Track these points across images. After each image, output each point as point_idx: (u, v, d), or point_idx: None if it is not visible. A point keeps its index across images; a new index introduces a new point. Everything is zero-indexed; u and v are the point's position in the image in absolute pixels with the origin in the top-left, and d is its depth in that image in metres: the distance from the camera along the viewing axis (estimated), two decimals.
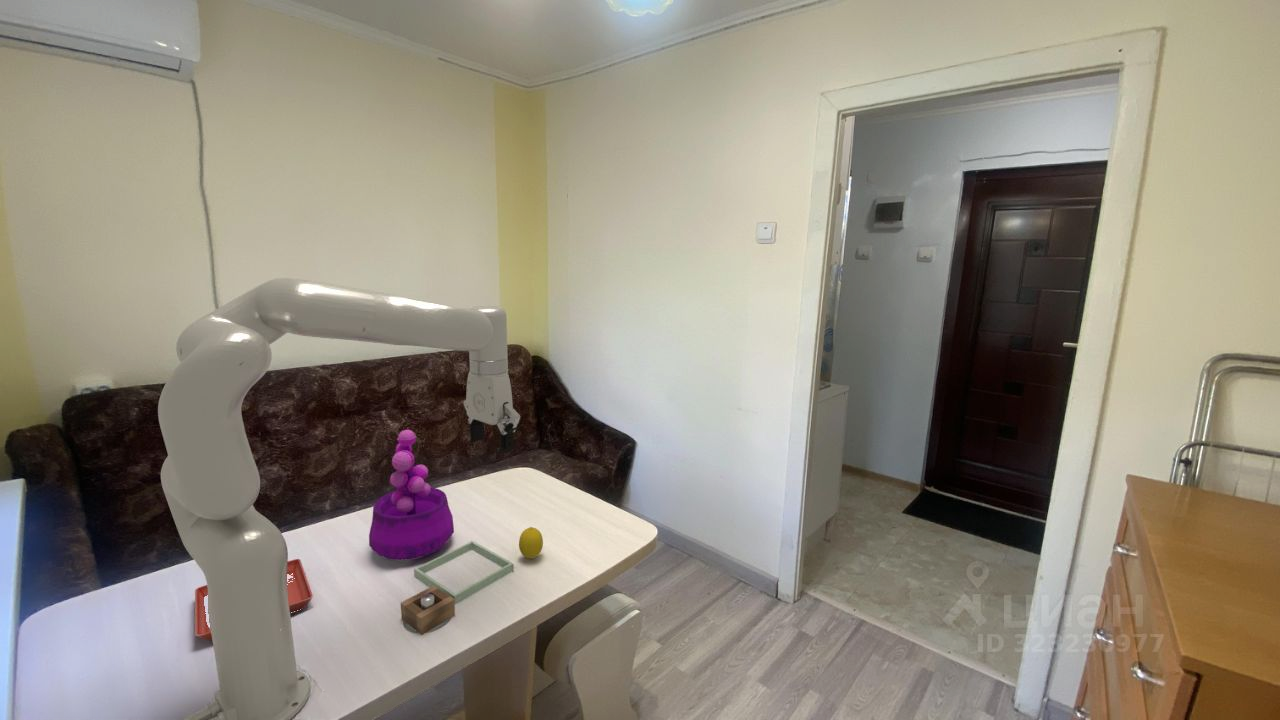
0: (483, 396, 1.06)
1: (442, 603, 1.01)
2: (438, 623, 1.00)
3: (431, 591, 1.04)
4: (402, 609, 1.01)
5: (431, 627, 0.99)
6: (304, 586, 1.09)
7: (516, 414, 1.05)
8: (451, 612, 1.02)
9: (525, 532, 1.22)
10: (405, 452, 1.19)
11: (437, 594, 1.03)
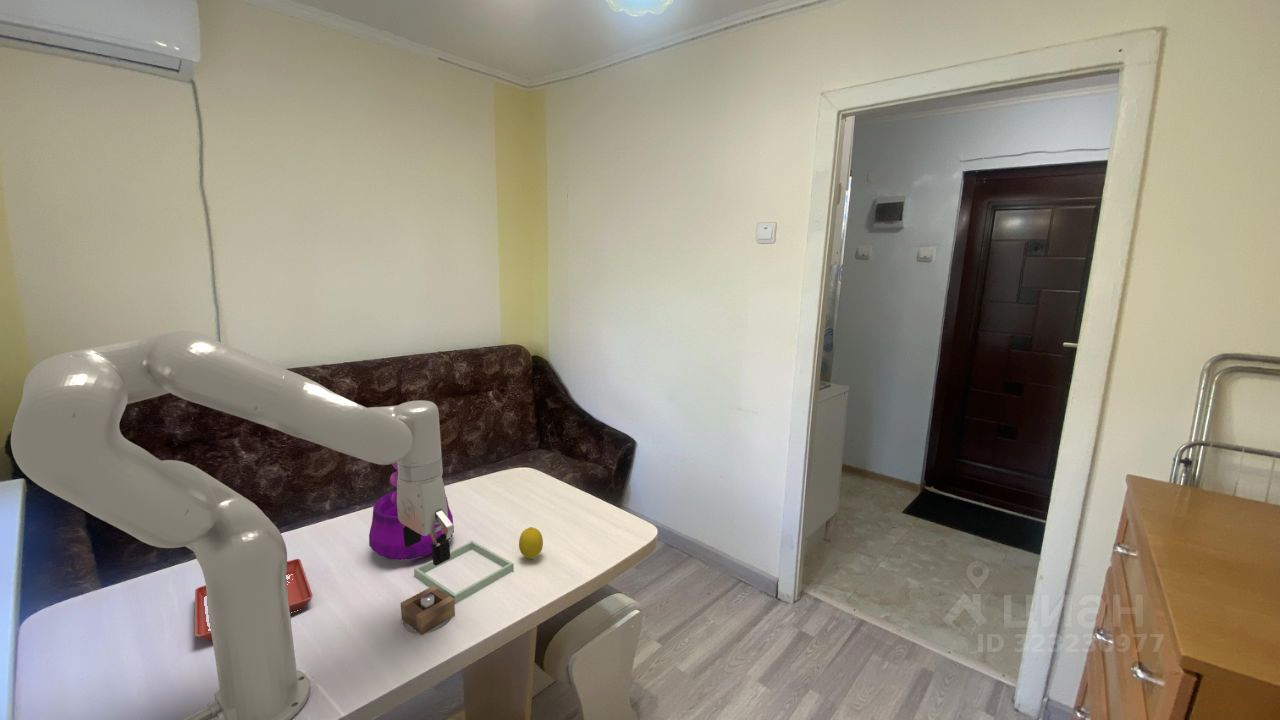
0: (413, 503, 0.94)
1: (442, 603, 1.01)
2: (438, 623, 1.00)
3: (431, 591, 1.04)
4: (402, 609, 1.01)
5: (431, 627, 0.99)
6: (304, 586, 1.09)
7: (449, 525, 0.93)
8: (451, 612, 1.02)
9: (525, 532, 1.22)
10: None
11: (437, 594, 1.03)
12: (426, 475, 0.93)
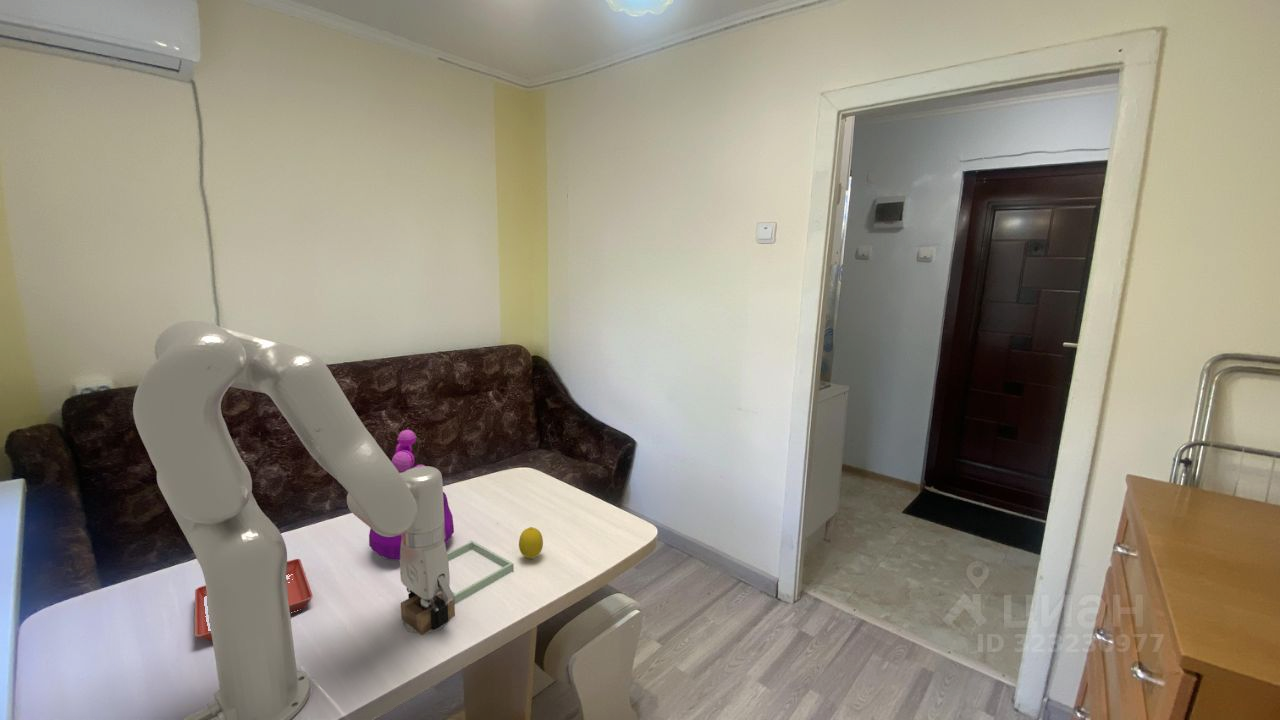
0: (416, 568, 0.97)
1: None
2: None
3: None
4: (402, 609, 1.01)
5: (431, 627, 0.99)
6: (304, 586, 1.09)
7: (450, 594, 0.96)
8: (451, 612, 1.02)
9: (525, 532, 1.22)
10: (405, 452, 1.19)
11: None
12: (429, 541, 0.96)
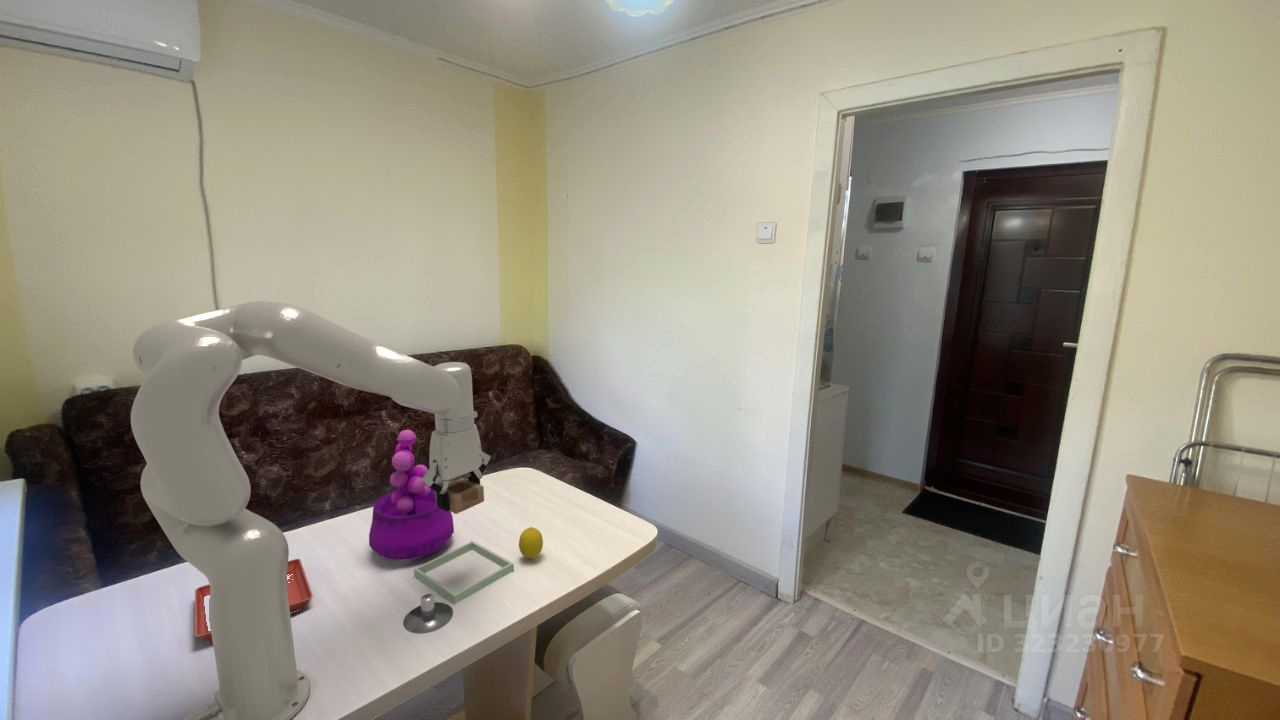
0: None
1: (451, 494, 1.08)
2: None
3: (473, 486, 1.12)
4: None
5: None
6: (304, 586, 1.09)
7: (424, 478, 1.04)
8: (453, 508, 1.07)
9: (525, 532, 1.22)
10: (405, 452, 1.19)
11: (467, 489, 1.10)
12: (436, 426, 1.06)
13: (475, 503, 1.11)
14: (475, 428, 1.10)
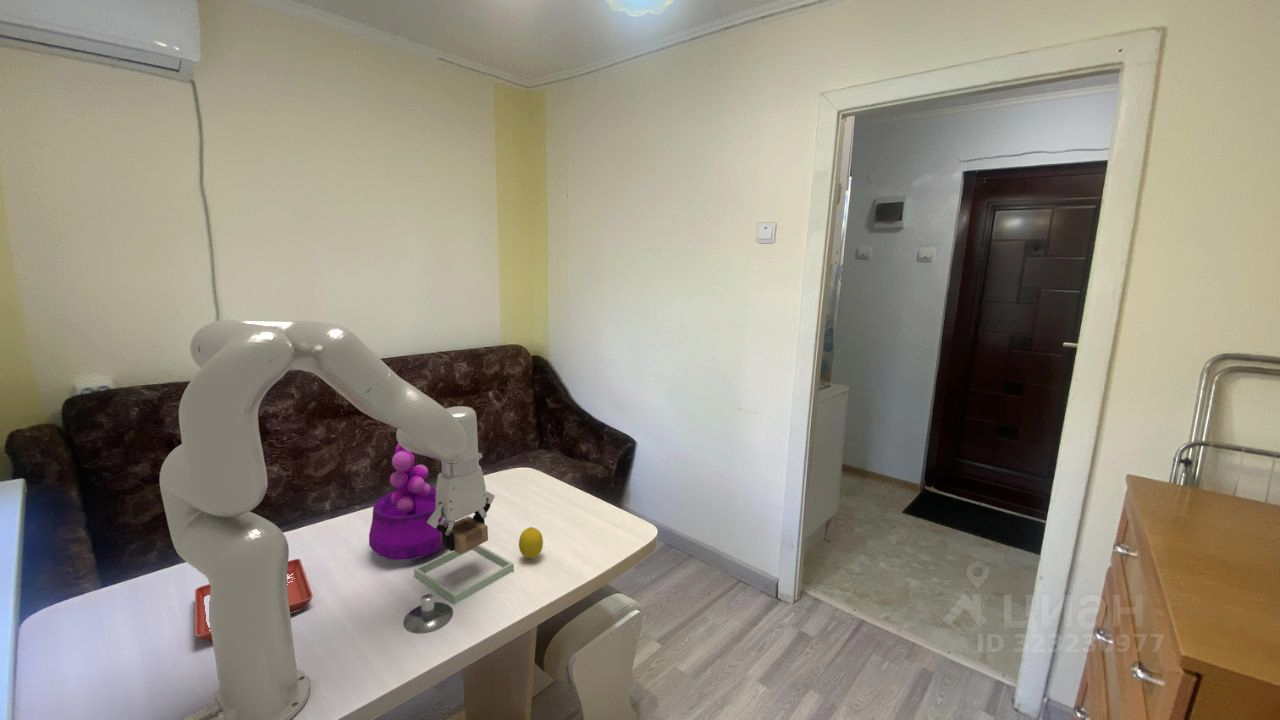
0: None
1: (456, 534, 1.11)
2: None
3: (478, 526, 1.15)
4: None
5: None
6: (304, 586, 1.09)
7: (430, 520, 1.08)
8: (458, 548, 1.11)
9: (525, 532, 1.22)
10: (405, 452, 1.19)
11: (471, 529, 1.13)
12: (442, 469, 1.09)
13: (479, 542, 1.14)
14: (480, 470, 1.13)
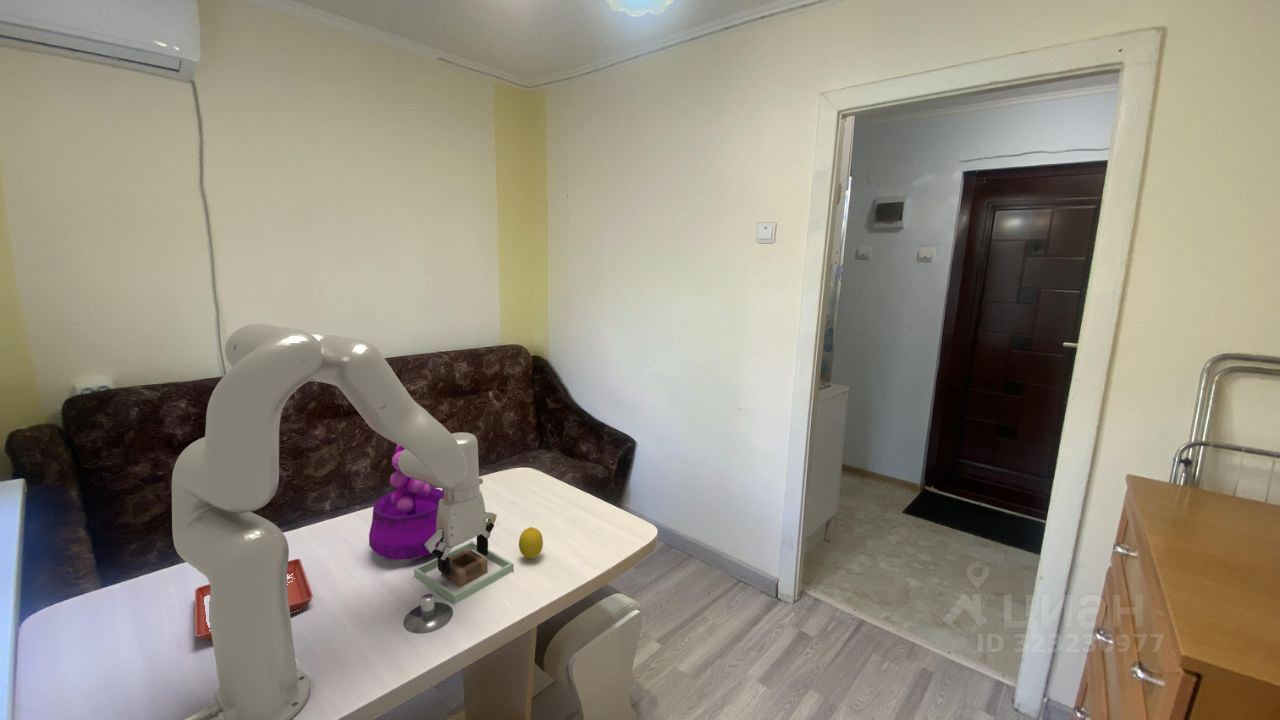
0: None
1: (456, 568, 1.13)
2: (450, 580, 1.14)
3: (478, 559, 1.16)
4: None
5: (446, 578, 1.14)
6: (304, 586, 1.09)
7: (428, 542, 1.08)
8: (458, 582, 1.12)
9: (525, 532, 1.22)
10: None
11: (471, 563, 1.15)
12: (443, 495, 1.10)
13: (479, 576, 1.15)
14: (480, 495, 1.15)
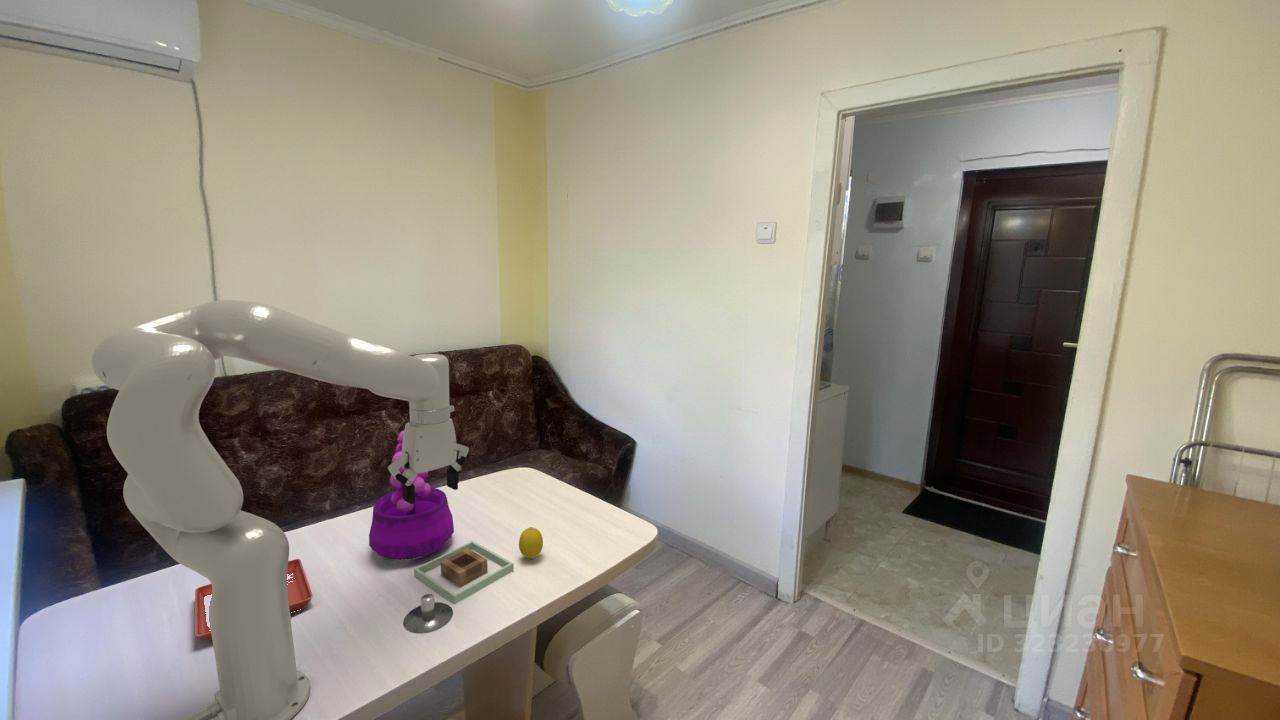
0: None
1: (456, 568, 1.13)
2: (450, 580, 1.14)
3: (478, 559, 1.16)
4: None
5: (446, 578, 1.14)
6: (304, 586, 1.09)
7: (391, 465, 1.02)
8: (458, 582, 1.12)
9: (525, 532, 1.22)
10: None
11: (471, 563, 1.15)
12: (410, 417, 1.05)
13: (479, 576, 1.15)
14: (450, 422, 1.08)
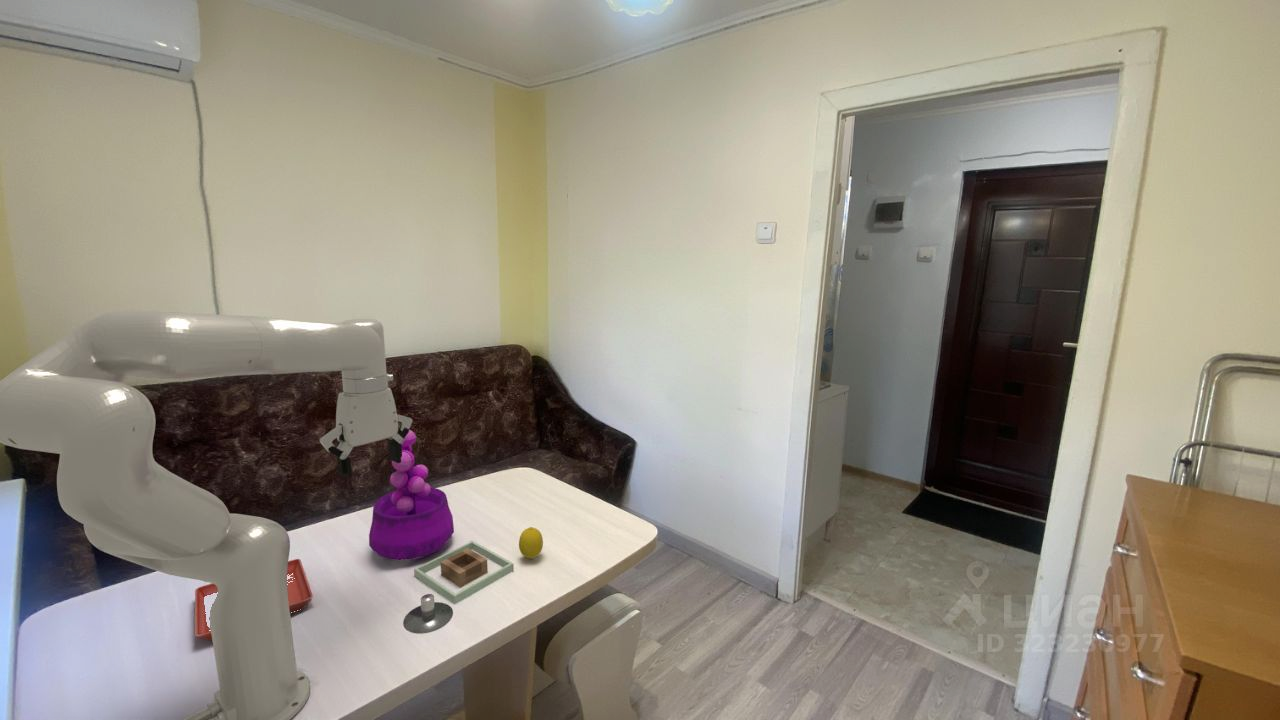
0: None
1: (456, 568, 1.13)
2: (450, 580, 1.14)
3: (478, 559, 1.16)
4: None
5: (446, 578, 1.14)
6: (304, 586, 1.09)
7: (323, 438, 0.95)
8: (458, 582, 1.12)
9: (525, 532, 1.22)
10: (405, 452, 1.19)
11: (471, 563, 1.15)
12: (343, 386, 0.98)
13: (479, 576, 1.15)
14: (389, 391, 1.02)
